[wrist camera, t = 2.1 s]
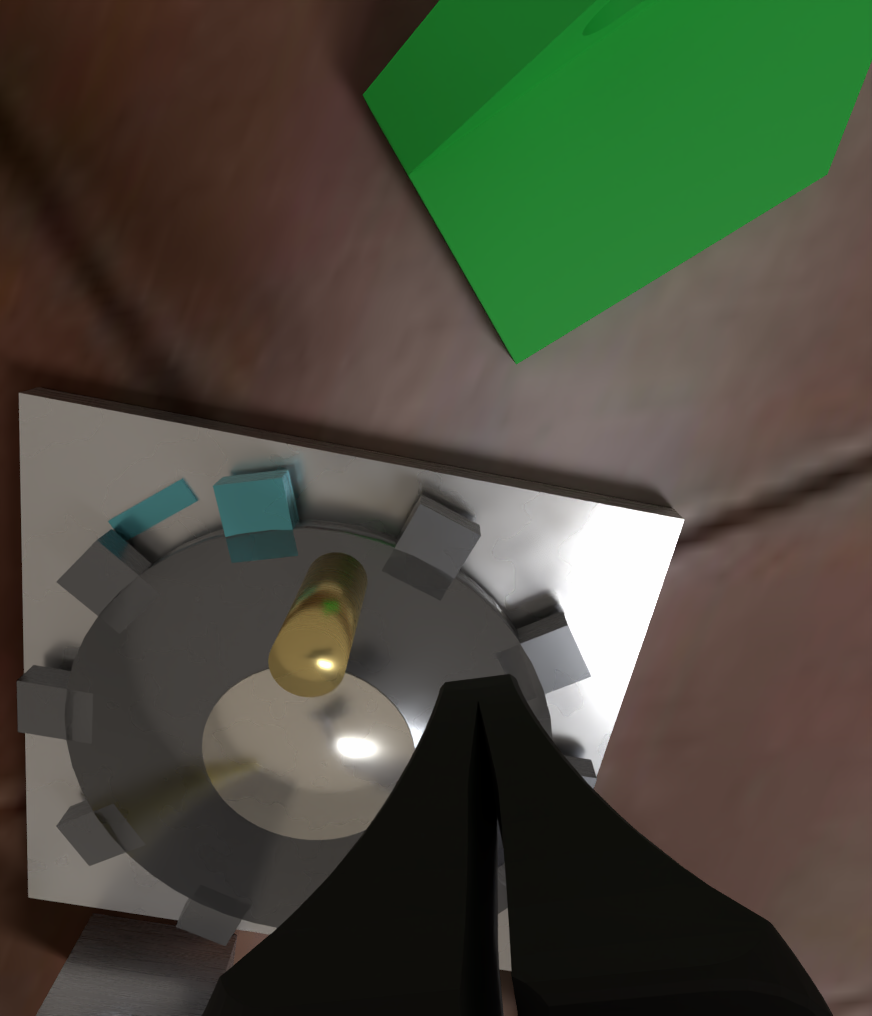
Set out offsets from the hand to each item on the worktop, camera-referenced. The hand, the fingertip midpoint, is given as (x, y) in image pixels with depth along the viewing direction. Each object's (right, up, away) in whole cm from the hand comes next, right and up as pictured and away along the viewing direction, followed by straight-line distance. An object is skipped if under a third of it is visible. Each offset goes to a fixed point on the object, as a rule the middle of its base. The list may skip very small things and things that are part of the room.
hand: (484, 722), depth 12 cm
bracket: (+4, +15, +6) cm, 16 cm away
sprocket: (-5, -4, +10) cm, 12 cm away
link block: (-13, -15, +16) cm, 25 cm away
